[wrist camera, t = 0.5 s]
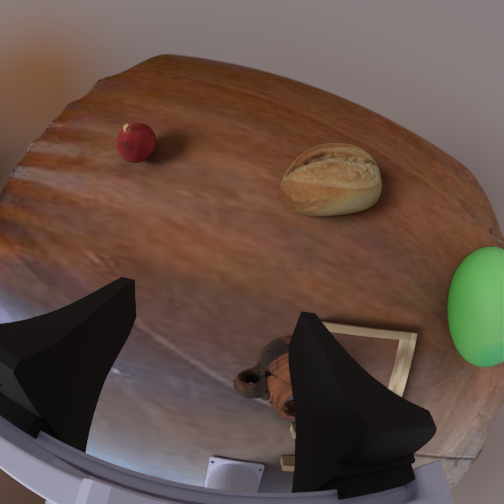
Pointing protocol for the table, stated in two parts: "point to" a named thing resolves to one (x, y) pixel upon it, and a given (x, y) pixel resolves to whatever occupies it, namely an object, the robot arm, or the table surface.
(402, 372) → the bracket
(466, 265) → the toy bird
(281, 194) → the bread roll
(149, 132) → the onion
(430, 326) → the table surface
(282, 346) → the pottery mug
